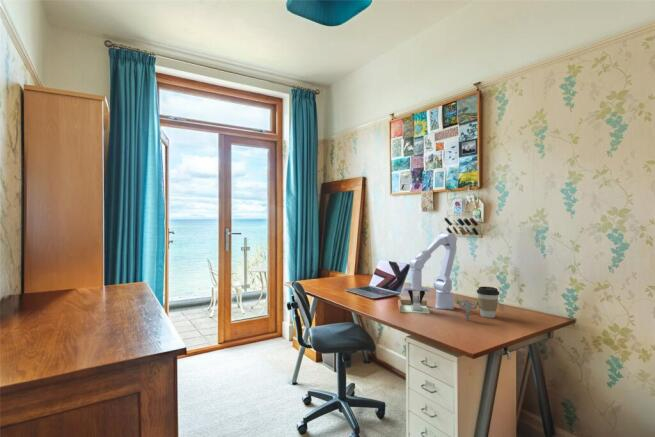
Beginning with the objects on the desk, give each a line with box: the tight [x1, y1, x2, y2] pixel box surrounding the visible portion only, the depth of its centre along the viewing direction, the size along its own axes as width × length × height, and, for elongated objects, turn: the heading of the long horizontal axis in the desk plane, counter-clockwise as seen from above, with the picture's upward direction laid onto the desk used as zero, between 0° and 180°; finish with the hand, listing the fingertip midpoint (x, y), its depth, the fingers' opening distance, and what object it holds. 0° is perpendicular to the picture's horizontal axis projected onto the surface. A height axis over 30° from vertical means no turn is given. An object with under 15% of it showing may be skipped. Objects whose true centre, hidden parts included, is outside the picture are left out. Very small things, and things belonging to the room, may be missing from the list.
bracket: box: [412, 293, 421, 311], centre depth 197 cm, size 9×4×7 cm, turn 172°
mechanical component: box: [456, 299, 479, 322], centre depth 177 cm, size 3×10×10 cm, turn 79°
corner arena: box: [397, 298, 430, 315], centre depth 198 cm, size 17×16×4 cm
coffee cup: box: [476, 286, 500, 319], centre depth 185 cm, size 11×11×15 cm
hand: (416, 303), depth 196 cm, fingers closed on bracket, 4 cm apart
